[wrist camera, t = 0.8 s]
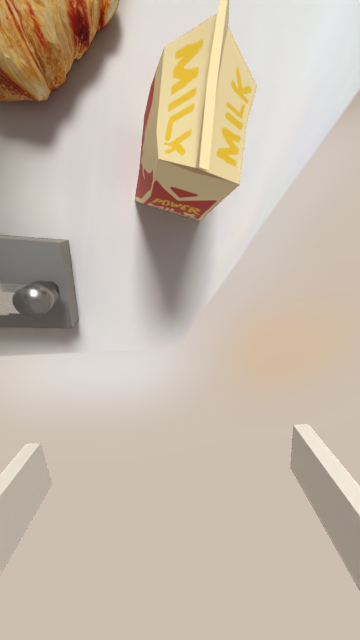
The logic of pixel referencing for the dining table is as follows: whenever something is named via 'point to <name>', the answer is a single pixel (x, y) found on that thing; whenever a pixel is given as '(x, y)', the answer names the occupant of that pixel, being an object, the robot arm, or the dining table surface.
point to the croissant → (45, 42)
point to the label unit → (39, 278)
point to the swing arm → (27, 298)
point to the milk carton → (196, 121)
